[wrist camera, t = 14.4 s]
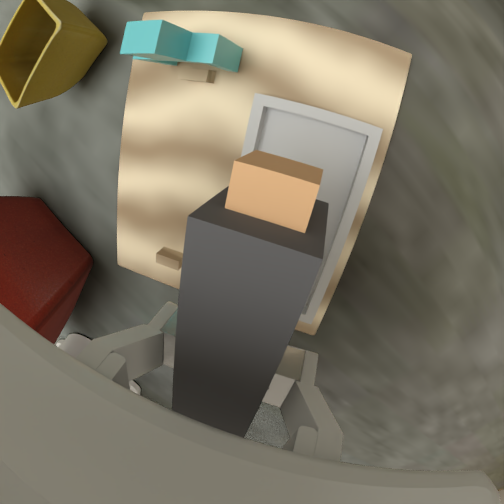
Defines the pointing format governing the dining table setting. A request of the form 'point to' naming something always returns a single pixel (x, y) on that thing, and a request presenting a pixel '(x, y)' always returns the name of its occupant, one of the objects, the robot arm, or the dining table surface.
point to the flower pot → (46, 50)
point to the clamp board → (237, 124)
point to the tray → (322, 156)
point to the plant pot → (39, 265)
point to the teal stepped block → (178, 45)
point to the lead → (245, 287)
